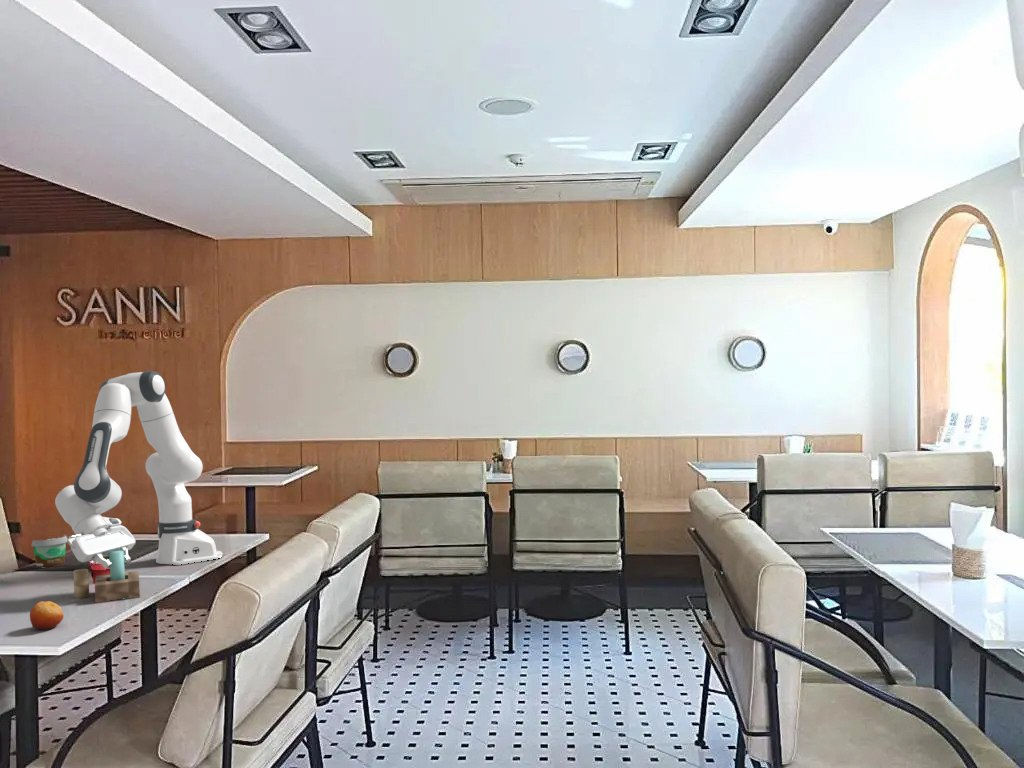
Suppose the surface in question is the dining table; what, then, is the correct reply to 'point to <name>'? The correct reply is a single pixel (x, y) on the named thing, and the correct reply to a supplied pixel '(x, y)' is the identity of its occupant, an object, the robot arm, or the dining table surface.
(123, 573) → the long pin
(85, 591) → the short pin
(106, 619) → the dining table surface
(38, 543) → the food container
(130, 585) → the hole block
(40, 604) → the fruit
